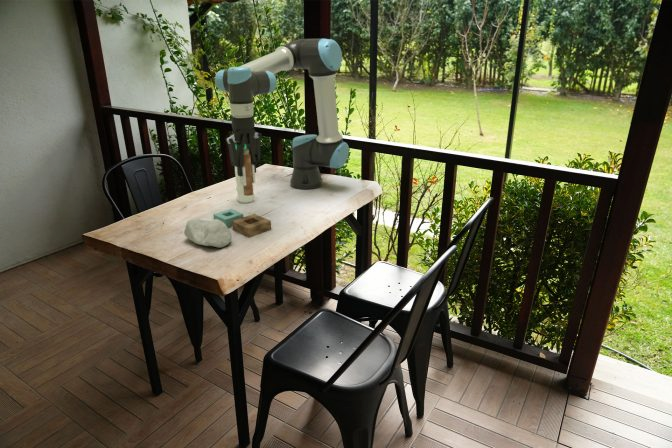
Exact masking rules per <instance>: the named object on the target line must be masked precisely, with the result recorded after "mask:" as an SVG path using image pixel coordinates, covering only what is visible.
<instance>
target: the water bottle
mask: <svg viewBox="0 0 672 448" xmlns="http://www.w3.org/2000/svg"><path fill="white" fill-rule="evenodd" d="M235 147H236V151H237V146H236V144H235ZM244 149H247V148H246V145H245V147H244ZM234 174H235V175H234V176H235V182H236V192H237V196H236V197H237V201H238V203H241V204H248V203H252V202H254V201H255V194H254V192H253V195H250V196H246V195H244V187H243V185H241V184H240V176H238V174H237V167H236V166H234ZM252 184H253V185H254V183H252Z"/></svg>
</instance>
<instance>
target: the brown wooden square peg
mask: <svg viewBox="0 0 672 448" xmlns="http://www.w3.org/2000/svg"><path fill="white" fill-rule="evenodd" d="M243 167H245V173H246V186H244V185H243V187H244V195H246V196H250V195H253V193H254V183H253V184H252V171H251V157H250V154H249V149H244V154H243Z"/></svg>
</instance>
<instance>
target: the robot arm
mask: <svg viewBox="0 0 672 448" xmlns="http://www.w3.org/2000/svg"><path fill="white" fill-rule="evenodd" d="M342 61H343V55H342V50H341V47H340V45H339V44H338V42H337V41H336V40H334V39H329V38H300V39H296V40H292V41H290V42H287V43H285V44H283V45H279V46H278V47H277V48H276V49H275V50H274V51H273V52H271V53H268V54H266V55H264V56H263V55H262V56H261V57H258V58H256V59H253V60H251V61H249V62H246V63H245V64H242V65H240V66H232V67H228V69H220V70H219V71H217V73H216V74H215V77H214V83H215V86H216V88H217V89H218V90H219V91H221V92H224V93H225V92H226V93H228V94H229V95H228V96H229V110H230V115H231V120H230V121H231V127H232V132H231V133H232V135H230V136H229V137H226V138H225V141H226V144H227V146H228V152H229V153H228V154H229V159H230V165H231V166H233V167H235V166H236V167H237V174H238V176H240V184H241V185H244V186H246V173H245V167H243V154H244V147H245V145H246V148H247V149H249V154H250V157H251V171H252V183H253V184H256V173H257V166H258V164H259V162H260V161H261V148H262V147H261V140H262V136H263V134H262V133H260V132H257V131H256V130H255V127H256V126H255V125H256V124H255V116H253V115H254V99H253V98H254V97H255V96H259V95H260V96H261V95H268V94H272V93H273V92H275V90H276V89H277V88H276V87H277V84H278V83H277V78H276V76H275V74H278V73H279V72H281V71H282V72H283V71H285V72H288V71H290V70H298V69H300V70H307V71H308V76H309V78H311V79H312V80H313V89H314V98H315V107H316V116H317V118H316V119H317V126H318V135H317V134H304V135H300V136H295V137H293V139H292V146H291V148H292V162H293V163H292V164H293V170H292V172H291V173H292V174H291V178H290V183H289V184H290V185H289V186H290V187H292V188H293V189H299V190H312V189H313V190H314V189H317V188H319V187H322V186H323V178H322V175H321V172H320V169H319V167H325V168H330V169H340V168H342V167H344V166H345V164H346V162H347V161H348V157H349V154H350V153H349V152H350V149H349V148H350V147H349V145H348V143H347V142H345V141H344V140H343V135H342V134H341V133H340V131H339V120H338V119H339V118H338V109H337V97H336V86H335V78H336V76H337V74H338V70H339V69H340V68H341V66H342ZM235 145H236V146H237V150H236V146H235Z"/></svg>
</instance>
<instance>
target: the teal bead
mask: <svg viewBox="0 0 672 448" xmlns="http://www.w3.org/2000/svg"><path fill="white" fill-rule="evenodd" d="M243 217H244V213H242V212H240V211H238V210H235V209H233V208H229V209H225V210H223V211H219V212H217V213H213V220H214V219H218V220H220V221H222V222H223V223H224V224H225V225H226V226H227V228H228V229H229V228H233V226H232V221H234V220H237V219H240V218H243Z"/></svg>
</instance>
